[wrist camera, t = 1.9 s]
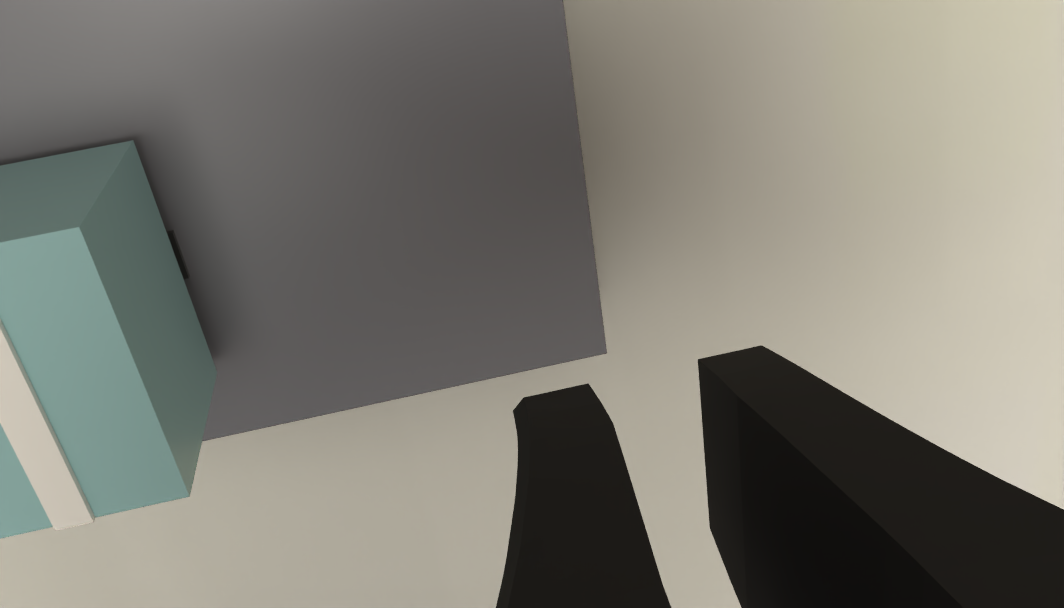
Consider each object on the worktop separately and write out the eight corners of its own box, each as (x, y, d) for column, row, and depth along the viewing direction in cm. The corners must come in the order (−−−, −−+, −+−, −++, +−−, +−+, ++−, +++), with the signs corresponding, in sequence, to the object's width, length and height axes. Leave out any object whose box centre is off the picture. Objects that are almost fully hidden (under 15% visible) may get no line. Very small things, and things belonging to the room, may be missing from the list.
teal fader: (217, 372, 16) (187, 501, 13) (30, 412, 15) (-43, 552, 13) (132, 140, 14) (77, 230, 11) (-83, 181, 13) (-198, 285, 11)
